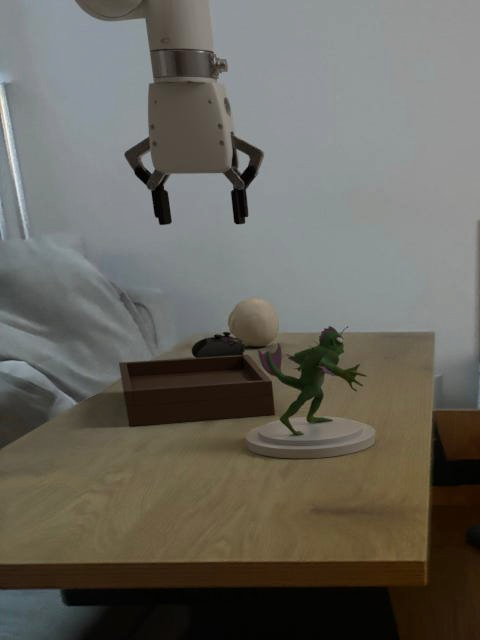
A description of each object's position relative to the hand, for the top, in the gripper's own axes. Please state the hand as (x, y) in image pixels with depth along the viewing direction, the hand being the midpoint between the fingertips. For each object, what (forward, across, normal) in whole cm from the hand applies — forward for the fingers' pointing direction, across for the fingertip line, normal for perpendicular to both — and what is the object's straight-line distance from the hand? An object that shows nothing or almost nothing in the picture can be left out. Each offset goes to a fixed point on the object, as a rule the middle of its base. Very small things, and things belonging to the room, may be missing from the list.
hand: (202, 224), depth 126 cm
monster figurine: (+17, -21, +45) cm, 52 cm away
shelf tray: (+17, -5, +28) cm, 33 cm away
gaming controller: (+17, 0, +2) cm, 17 cm away
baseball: (+17, -2, -11) cm, 21 cm away
